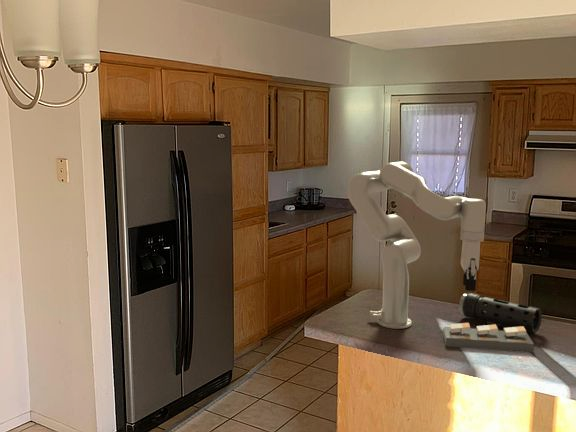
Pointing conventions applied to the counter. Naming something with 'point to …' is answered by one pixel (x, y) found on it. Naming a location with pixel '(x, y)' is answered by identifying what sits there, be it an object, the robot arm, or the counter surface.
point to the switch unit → (488, 340)
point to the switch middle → (487, 329)
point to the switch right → (515, 331)
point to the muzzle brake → (500, 312)
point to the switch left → (460, 327)
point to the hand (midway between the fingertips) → (469, 287)
